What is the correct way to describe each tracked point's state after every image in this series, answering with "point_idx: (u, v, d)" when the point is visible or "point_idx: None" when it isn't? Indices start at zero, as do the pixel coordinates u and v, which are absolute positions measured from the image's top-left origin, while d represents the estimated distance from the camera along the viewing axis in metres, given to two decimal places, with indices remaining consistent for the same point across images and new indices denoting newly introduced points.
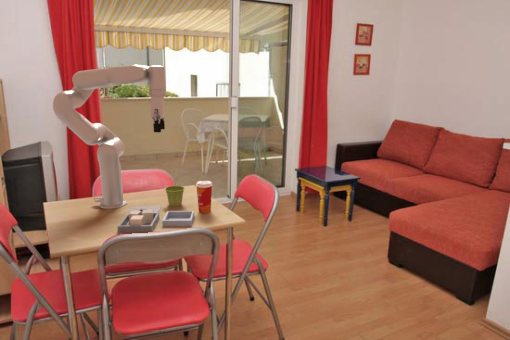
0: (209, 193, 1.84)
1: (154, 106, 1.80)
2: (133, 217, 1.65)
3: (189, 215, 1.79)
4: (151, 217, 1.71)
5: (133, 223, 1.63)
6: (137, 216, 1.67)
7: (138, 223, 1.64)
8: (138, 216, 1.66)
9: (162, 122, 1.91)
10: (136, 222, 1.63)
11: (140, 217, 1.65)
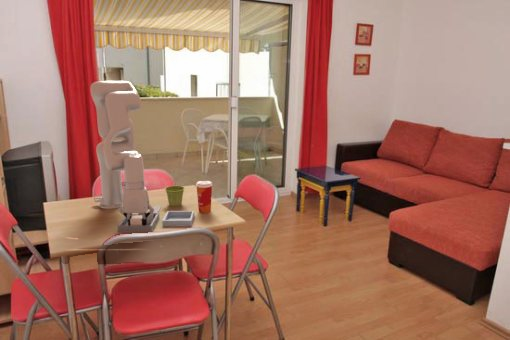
0: (209, 193, 1.84)
1: (147, 198, 1.63)
2: (133, 217, 1.65)
3: (189, 215, 1.79)
4: (151, 217, 1.71)
5: (133, 223, 1.63)
6: (137, 216, 1.67)
7: (138, 223, 1.64)
8: (138, 216, 1.66)
9: None
10: (136, 222, 1.63)
11: (140, 217, 1.65)
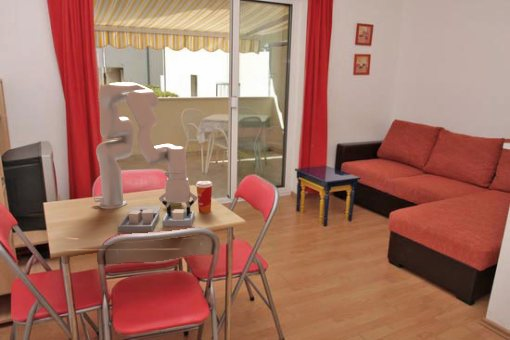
0: (209, 193, 1.84)
1: (189, 188, 1.70)
2: (175, 211, 1.73)
3: (189, 215, 1.79)
4: (151, 217, 1.71)
5: (175, 216, 1.71)
6: (178, 209, 1.75)
7: (180, 216, 1.71)
8: (179, 210, 1.74)
9: (170, 207, 1.74)
10: (178, 216, 1.71)
11: (181, 211, 1.73)
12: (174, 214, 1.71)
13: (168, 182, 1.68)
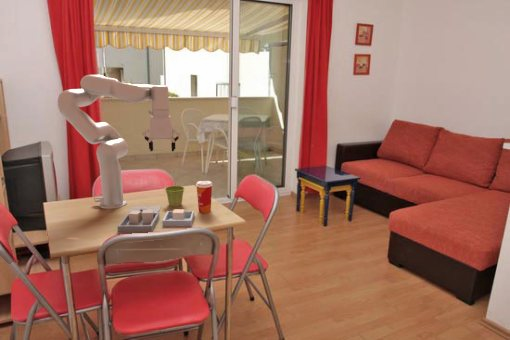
0: (209, 193, 1.84)
1: (172, 125, 1.81)
2: (175, 211, 1.73)
3: (189, 215, 1.79)
4: (151, 217, 1.71)
5: (175, 216, 1.71)
6: (178, 209, 1.75)
7: (180, 216, 1.71)
8: (179, 210, 1.74)
9: (152, 143, 1.84)
10: (178, 216, 1.71)
11: (181, 211, 1.73)
12: (174, 214, 1.71)
13: (152, 119, 1.78)
